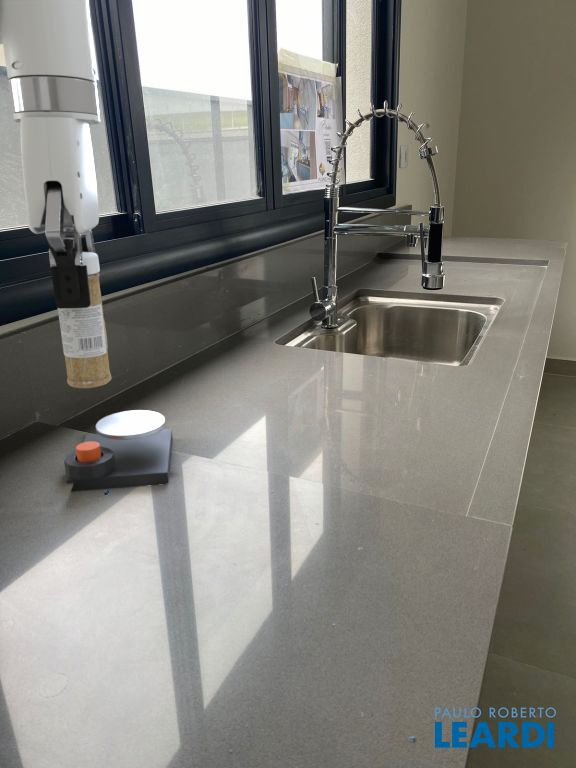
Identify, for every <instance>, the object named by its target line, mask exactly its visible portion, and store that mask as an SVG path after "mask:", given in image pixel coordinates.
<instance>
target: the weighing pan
mask: <svg viewBox="0 0 576 768" xmlns="http://www.w3.org/2000/svg"><path fill="white" fill-rule="evenodd" d="M165 425H166V418H165V416H164V415H163V414H162V413H160V412H157V411H152V410H145V409H144V410H143V409H135V410H133V409H132V410H124V411H120V412H116V413H112V414H109V415H106V416H104V417H102V418H101V419H99V420H98V421H97V422H96V424H95V431H96V434H99V435H100V436H102V437H105V438H109V439H116V440H127V439H136V438H141V437H145V436H149V435H152V434H154V433H156V432H158V431H160V430H163V429H164V427H165Z"/></svg>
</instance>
